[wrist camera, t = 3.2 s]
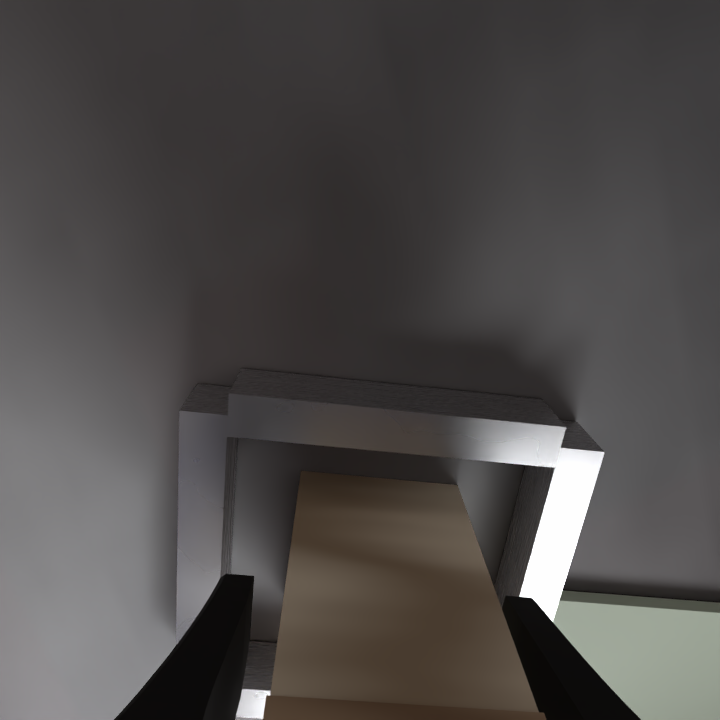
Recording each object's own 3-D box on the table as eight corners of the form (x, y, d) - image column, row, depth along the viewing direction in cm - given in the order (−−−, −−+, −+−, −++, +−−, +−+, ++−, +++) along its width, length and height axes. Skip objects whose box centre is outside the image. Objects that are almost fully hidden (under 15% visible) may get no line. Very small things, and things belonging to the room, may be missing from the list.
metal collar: (190, 663, 16) (174, 713, 14) (197, 363, 13) (179, 388, 11) (502, 684, 16) (518, 733, 15) (582, 403, 13) (610, 431, 12)
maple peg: (286, 598, 15) (241, 937, 8) (298, 468, 14) (257, 751, 7) (432, 609, 15) (501, 946, 9) (459, 483, 14) (564, 768, 7)
